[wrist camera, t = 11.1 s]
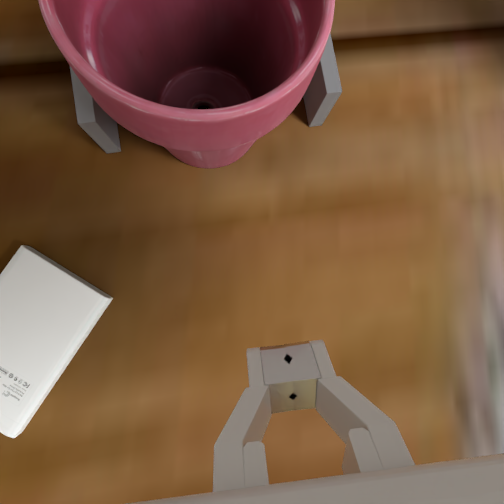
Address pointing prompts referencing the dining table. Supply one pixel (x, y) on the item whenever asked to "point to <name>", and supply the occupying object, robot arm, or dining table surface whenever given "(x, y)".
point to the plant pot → (193, 66)
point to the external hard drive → (39, 331)
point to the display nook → (315, 98)
